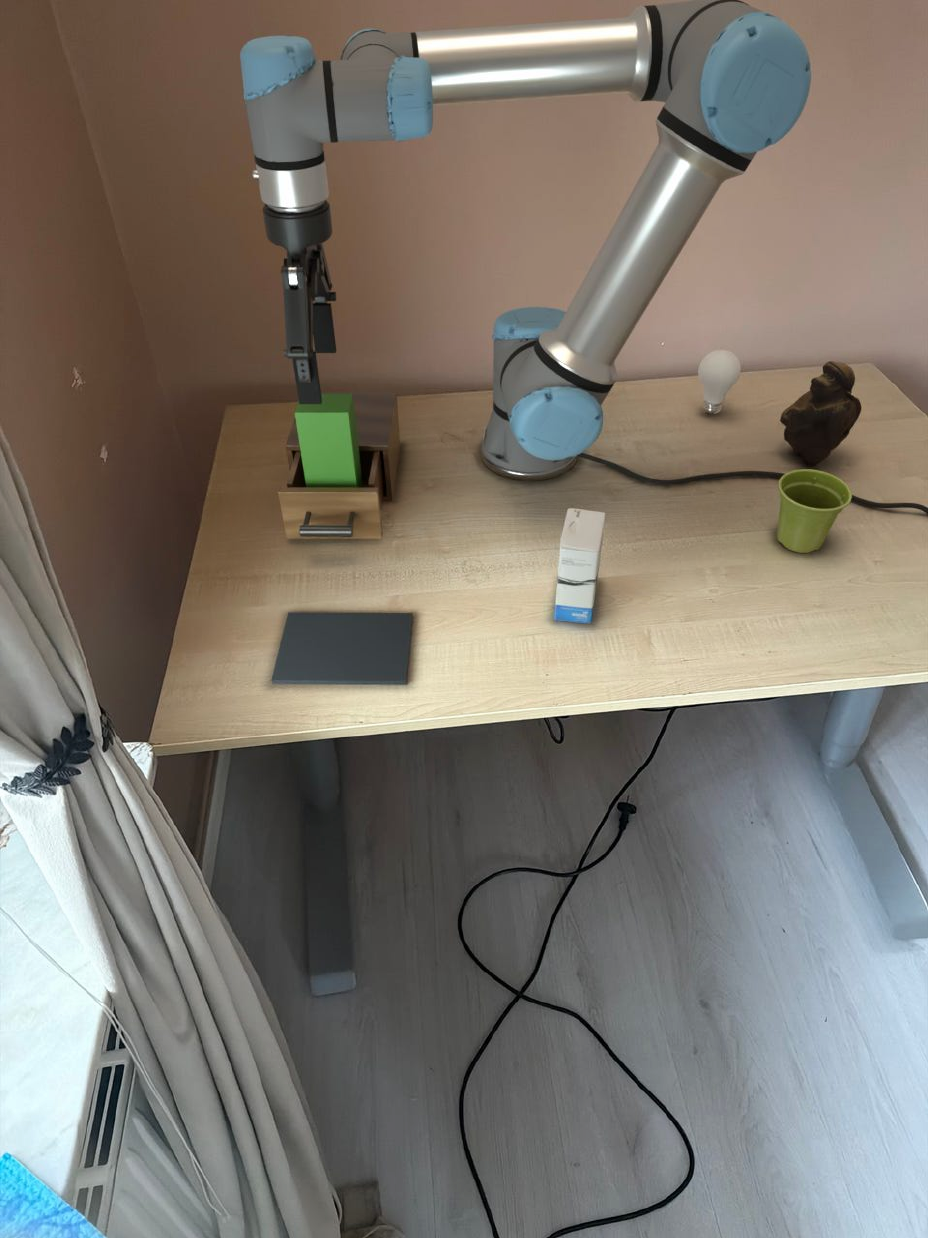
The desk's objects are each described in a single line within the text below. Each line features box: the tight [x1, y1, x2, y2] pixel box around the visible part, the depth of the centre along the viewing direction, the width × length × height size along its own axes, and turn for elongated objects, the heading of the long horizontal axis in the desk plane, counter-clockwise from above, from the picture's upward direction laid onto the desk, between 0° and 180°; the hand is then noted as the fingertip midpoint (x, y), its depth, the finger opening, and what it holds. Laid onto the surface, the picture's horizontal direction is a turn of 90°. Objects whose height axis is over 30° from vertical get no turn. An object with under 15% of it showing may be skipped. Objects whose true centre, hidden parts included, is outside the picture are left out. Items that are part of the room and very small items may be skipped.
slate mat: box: [270, 611, 414, 686], centre depth 110 cm, size 16×12×1 cm
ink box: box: [553, 507, 606, 625], centre depth 112 cm, size 8×5×12 cm, turn 168°
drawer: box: [277, 451, 385, 540], centre depth 126 cm, size 19×13×8 cm
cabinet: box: [285, 391, 401, 503], centre depth 136 cm, size 16×15×10 cm
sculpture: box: [779, 360, 862, 467], centre depth 135 cm, size 11×11×15 cm
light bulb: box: [697, 349, 742, 415], centre depth 147 cm, size 7×7×11 cm
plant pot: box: [776, 468, 853, 554], centre depth 122 cm, size 9×9×9 cm
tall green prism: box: [294, 394, 363, 488], centre depth 123 cm, size 7×5×17 cm
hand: (318, 376), depth 115 cm, fingers open, 13 cm apart
